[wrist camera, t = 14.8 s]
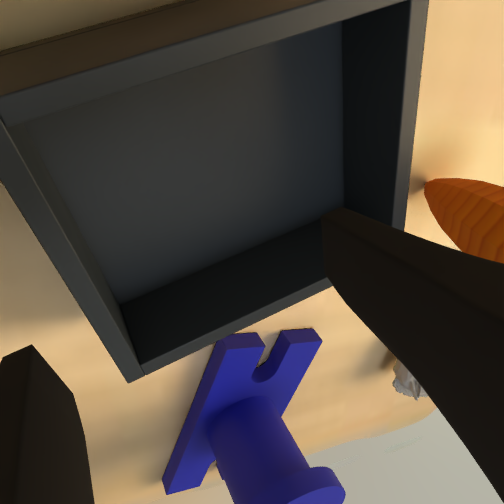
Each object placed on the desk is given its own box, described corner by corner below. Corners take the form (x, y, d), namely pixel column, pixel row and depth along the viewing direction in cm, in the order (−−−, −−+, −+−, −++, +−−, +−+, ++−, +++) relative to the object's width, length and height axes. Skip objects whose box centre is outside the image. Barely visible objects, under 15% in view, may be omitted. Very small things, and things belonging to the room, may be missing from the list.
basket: (107, 314, 22) (128, 384, 19) (-38, 61, 14) (-45, 109, 11) (349, 208, 26) (402, 252, 23) (349, -47, 17) (433, -35, 14)
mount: (244, 458, 38) (295, 567, 32) (161, 479, 34) (201, 608, 28) (313, 328, 31) (394, 434, 25) (219, 335, 27) (288, 463, 21)
